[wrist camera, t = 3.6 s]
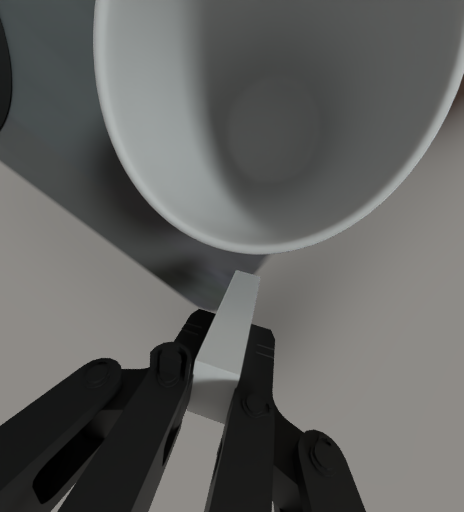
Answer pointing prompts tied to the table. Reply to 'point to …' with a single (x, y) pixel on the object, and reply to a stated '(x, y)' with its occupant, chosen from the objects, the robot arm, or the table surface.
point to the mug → (273, 108)
